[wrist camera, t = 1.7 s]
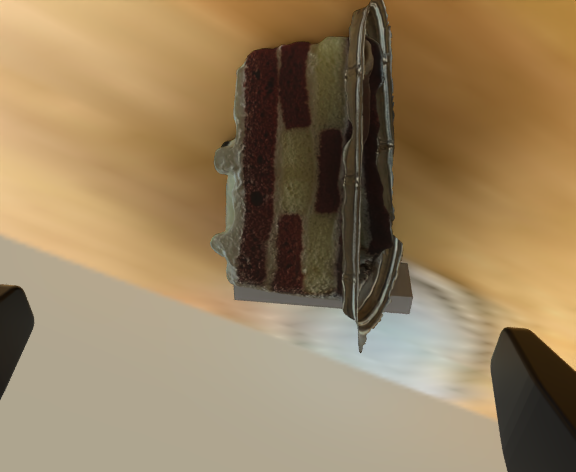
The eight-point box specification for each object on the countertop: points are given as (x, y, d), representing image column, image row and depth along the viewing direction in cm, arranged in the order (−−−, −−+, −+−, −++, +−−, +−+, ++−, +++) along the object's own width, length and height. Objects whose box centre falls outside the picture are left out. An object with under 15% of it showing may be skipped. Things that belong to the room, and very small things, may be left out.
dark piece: (187, -6, 17) (132, 324, 16) (378, -34, 15) (329, 364, 13) (288, 99, 26) (258, 320, 25) (421, 94, 23) (393, 344, 22)
